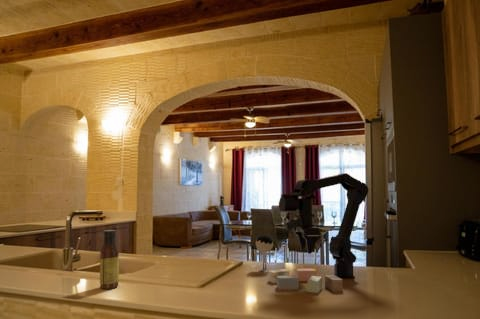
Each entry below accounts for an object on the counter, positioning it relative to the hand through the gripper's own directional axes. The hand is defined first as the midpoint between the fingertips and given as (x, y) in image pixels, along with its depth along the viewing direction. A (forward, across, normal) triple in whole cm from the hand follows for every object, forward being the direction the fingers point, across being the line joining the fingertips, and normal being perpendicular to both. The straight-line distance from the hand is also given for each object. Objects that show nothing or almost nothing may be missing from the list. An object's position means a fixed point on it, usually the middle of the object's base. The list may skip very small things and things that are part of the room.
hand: (306, 251), depth 136 cm
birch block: (+11, +1, -11) cm, 16 cm away
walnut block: (+11, +13, +6) cm, 18 cm away
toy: (+11, -20, -13) cm, 26 cm away
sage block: (+11, +14, -1) cm, 18 cm away
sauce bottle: (+10, +5, -73) cm, 74 cm away
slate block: (+11, +11, -10) cm, 18 cm away
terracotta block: (+11, 0, 0) cm, 11 cm away
